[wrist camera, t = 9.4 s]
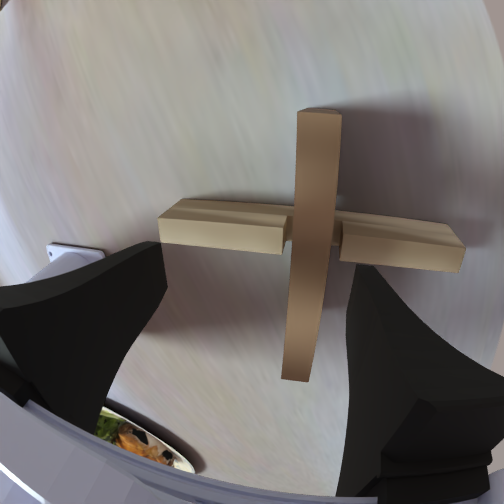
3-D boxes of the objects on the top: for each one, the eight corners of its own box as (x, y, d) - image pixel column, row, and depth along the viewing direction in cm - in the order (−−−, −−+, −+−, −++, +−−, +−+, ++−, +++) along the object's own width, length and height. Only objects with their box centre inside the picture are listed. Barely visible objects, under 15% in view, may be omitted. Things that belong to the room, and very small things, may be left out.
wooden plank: (316, 309, 22) (308, 382, 16) (295, 306, 23) (281, 378, 17) (335, 110, 16) (341, 115, 10) (307, 108, 16) (297, 111, 10)
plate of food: (44, 366, 42) (25, 389, 36) (185, 425, 36) (170, 461, 31) (96, 437, 56) (86, 456, 51) (206, 480, 51) (197, 503, 46)
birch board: (441, 246, 18) (458, 273, 15) (183, 220, 21) (160, 242, 18) (447, 224, 17) (466, 248, 14) (181, 198, 21) (157, 217, 18)
